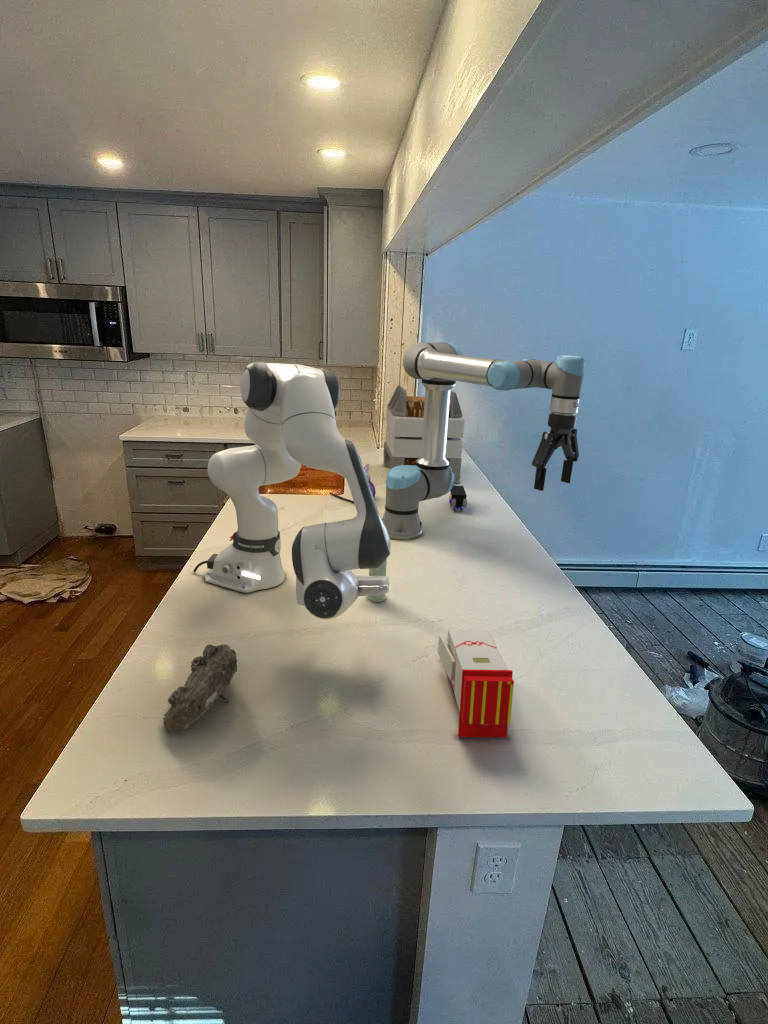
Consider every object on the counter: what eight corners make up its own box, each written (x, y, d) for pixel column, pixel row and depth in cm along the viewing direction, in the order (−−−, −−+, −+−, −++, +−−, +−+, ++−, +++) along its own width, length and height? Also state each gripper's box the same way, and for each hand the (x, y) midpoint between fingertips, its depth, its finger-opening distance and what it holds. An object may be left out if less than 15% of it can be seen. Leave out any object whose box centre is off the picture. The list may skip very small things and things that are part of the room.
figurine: (360, 504, 227) (361, 468, 222) (349, 497, 236) (350, 462, 230) (380, 501, 231) (382, 466, 226) (369, 494, 240) (371, 460, 235)
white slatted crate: (382, 463, 289) (386, 382, 275) (445, 464, 293) (451, 384, 279) (390, 482, 257) (394, 392, 243) (460, 483, 261) (468, 394, 247)
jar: (381, 592, 158) (384, 534, 152) (387, 600, 154) (390, 541, 148) (365, 594, 157) (368, 536, 151) (371, 602, 153) (373, 543, 147)
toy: (488, 613, 130) (523, 677, 101) (484, 667, 133) (517, 744, 104) (435, 612, 130) (455, 676, 101) (432, 666, 133) (451, 743, 103)
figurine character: (467, 516, 223) (461, 500, 237) (469, 499, 220) (463, 483, 233) (450, 516, 223) (446, 499, 236) (452, 498, 220) (447, 483, 233)
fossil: (188, 646, 122) (238, 614, 117) (219, 675, 125) (269, 646, 120) (140, 724, 103) (196, 691, 98) (177, 757, 105) (234, 726, 100)
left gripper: (387, 572, 116) (391, 567, 130) (288, 574, 118) (303, 568, 131) (387, 603, 116) (392, 595, 129) (289, 604, 117) (304, 596, 131)
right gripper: (548, 419, 148) (537, 496, 155) (598, 411, 163) (586, 482, 171) (525, 414, 153) (515, 489, 160) (575, 407, 169) (564, 476, 176)
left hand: (347, 582), depth 130 cm, fingers open, 8 cm apart
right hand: (552, 485), depth 166 cm, fingers open, 13 cm apart
